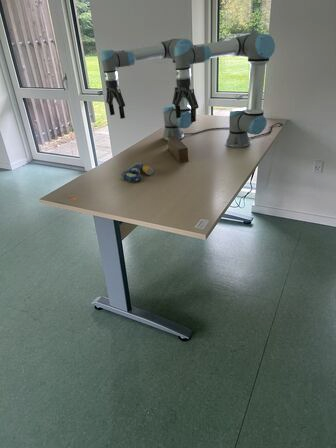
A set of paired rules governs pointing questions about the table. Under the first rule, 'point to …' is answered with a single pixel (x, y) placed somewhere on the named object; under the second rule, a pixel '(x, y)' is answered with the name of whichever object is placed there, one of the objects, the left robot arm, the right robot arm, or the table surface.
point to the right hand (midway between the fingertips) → (185, 119)
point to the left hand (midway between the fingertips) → (117, 116)
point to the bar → (178, 148)
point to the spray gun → (136, 172)
